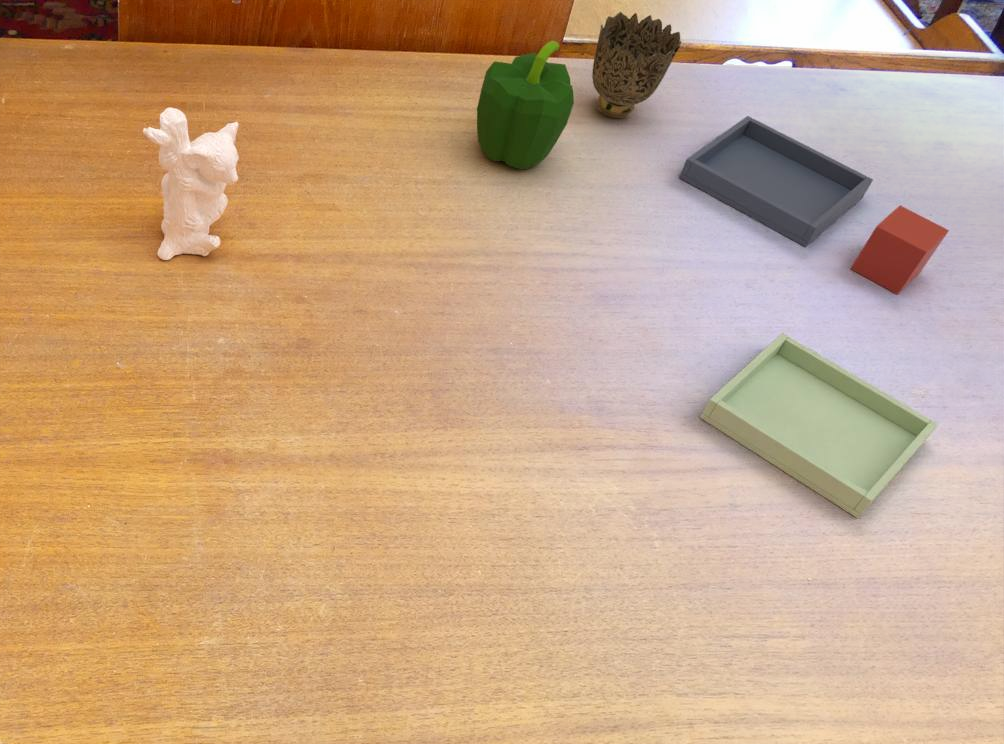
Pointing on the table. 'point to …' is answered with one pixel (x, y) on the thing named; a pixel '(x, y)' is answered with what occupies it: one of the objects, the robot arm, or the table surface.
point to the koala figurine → (192, 182)
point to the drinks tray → (819, 423)
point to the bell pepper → (524, 108)
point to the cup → (631, 62)
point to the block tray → (775, 180)
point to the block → (899, 249)
